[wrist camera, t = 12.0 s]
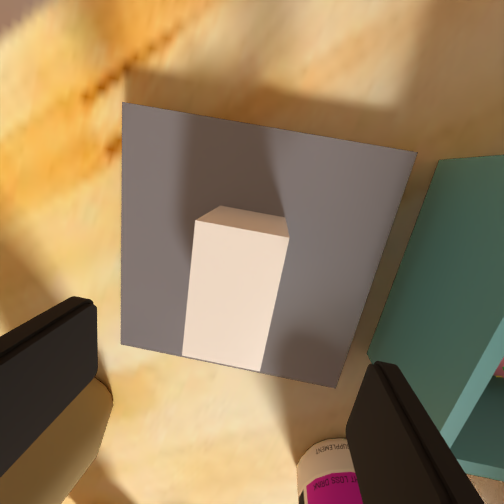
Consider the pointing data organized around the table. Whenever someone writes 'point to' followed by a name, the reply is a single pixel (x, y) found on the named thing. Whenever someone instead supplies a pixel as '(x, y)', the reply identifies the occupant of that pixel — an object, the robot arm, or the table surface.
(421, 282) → the pastry box
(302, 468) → the supplement can
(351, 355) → the table surface
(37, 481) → the squeeze bottle
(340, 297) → the lid
